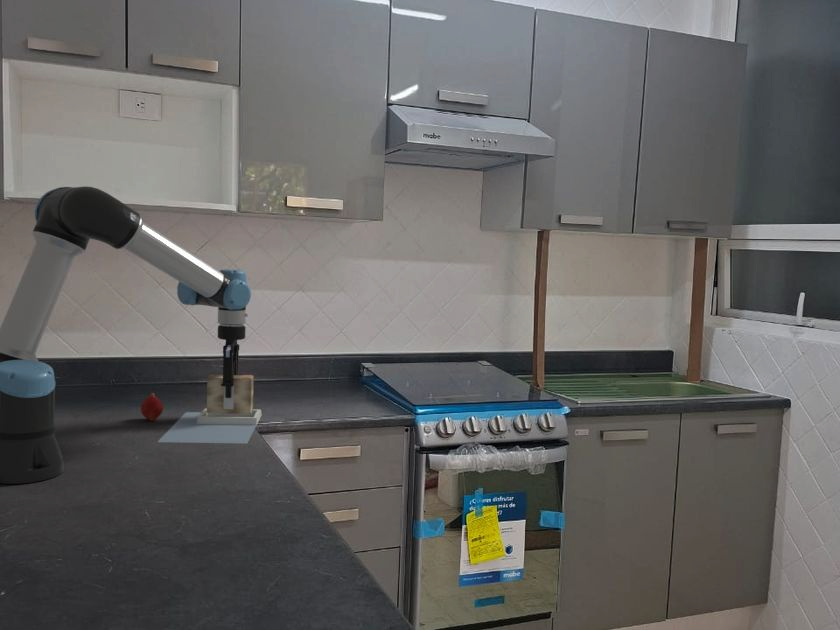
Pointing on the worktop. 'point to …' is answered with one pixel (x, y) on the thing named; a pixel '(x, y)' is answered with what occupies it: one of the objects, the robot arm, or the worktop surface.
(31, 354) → the robot arm
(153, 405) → the onion
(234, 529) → the worktop surface
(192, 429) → the mat
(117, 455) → the worktop surface
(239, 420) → the frame
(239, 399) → the block
